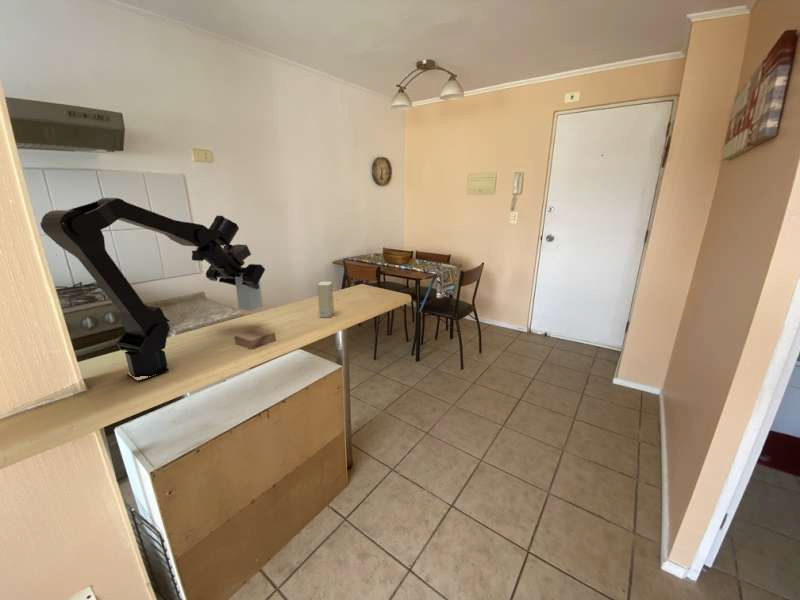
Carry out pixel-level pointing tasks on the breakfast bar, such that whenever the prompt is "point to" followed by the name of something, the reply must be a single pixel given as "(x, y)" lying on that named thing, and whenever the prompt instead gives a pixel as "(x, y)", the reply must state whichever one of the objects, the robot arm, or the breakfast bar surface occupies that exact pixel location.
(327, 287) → the skincare box
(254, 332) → the walnut block
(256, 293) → the pillar
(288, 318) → the breakfast bar surface
